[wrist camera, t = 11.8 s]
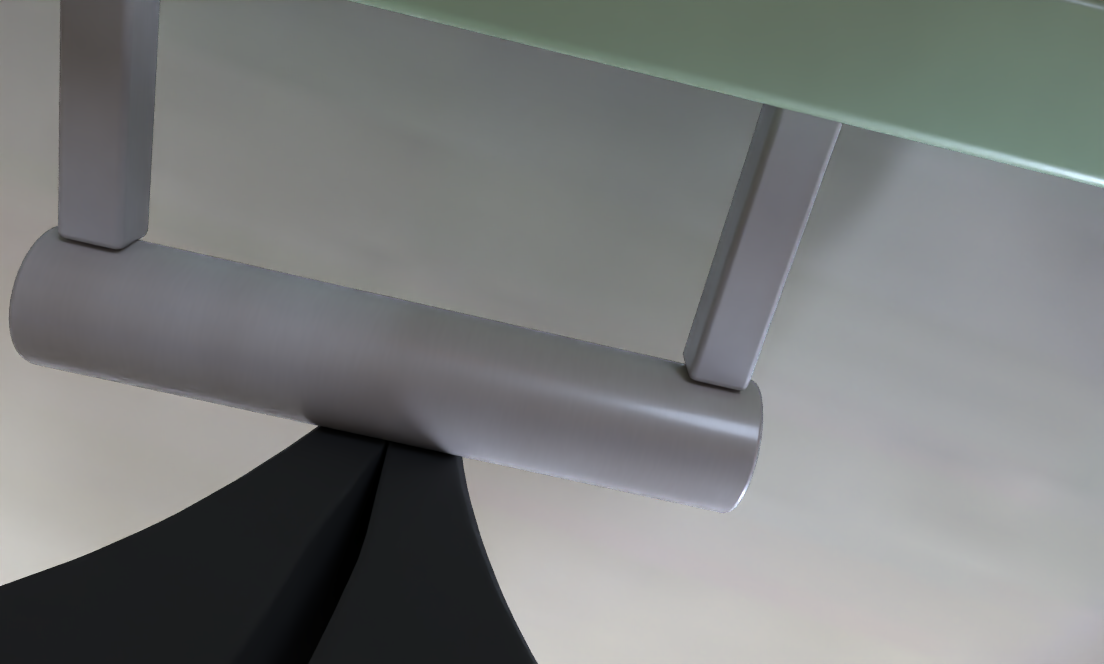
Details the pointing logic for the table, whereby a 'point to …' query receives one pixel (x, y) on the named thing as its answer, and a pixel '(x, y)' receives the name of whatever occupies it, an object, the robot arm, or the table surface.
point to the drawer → (513, 351)
